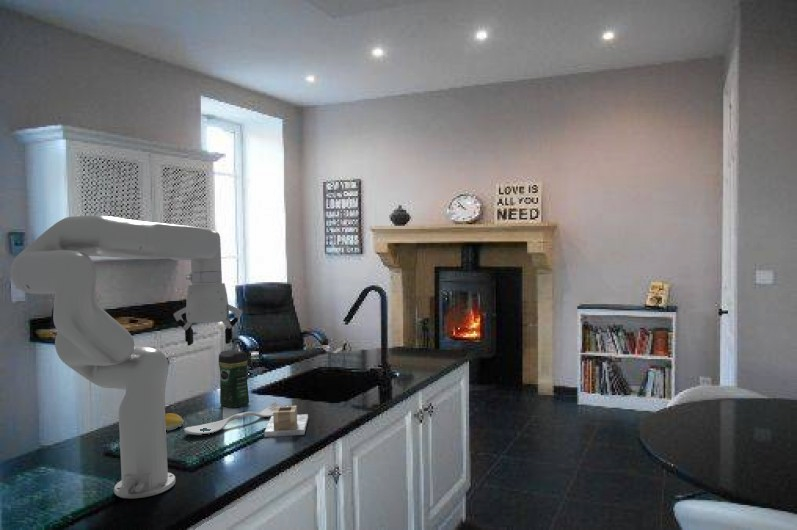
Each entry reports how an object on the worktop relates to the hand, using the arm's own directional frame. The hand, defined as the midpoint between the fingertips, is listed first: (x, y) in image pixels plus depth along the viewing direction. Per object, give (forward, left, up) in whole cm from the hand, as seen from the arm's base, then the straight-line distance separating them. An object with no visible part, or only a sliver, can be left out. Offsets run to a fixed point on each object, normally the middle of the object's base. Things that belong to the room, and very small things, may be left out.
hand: (209, 343), depth 153 cm
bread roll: (+23, +18, -29) cm, 41 cm away
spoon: (+22, -2, -29) cm, 36 cm away
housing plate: (+17, -18, -28) cm, 37 cm away
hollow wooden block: (+13, -18, -27) cm, 35 cm away
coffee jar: (+45, +3, -28) cm, 53 cm away
